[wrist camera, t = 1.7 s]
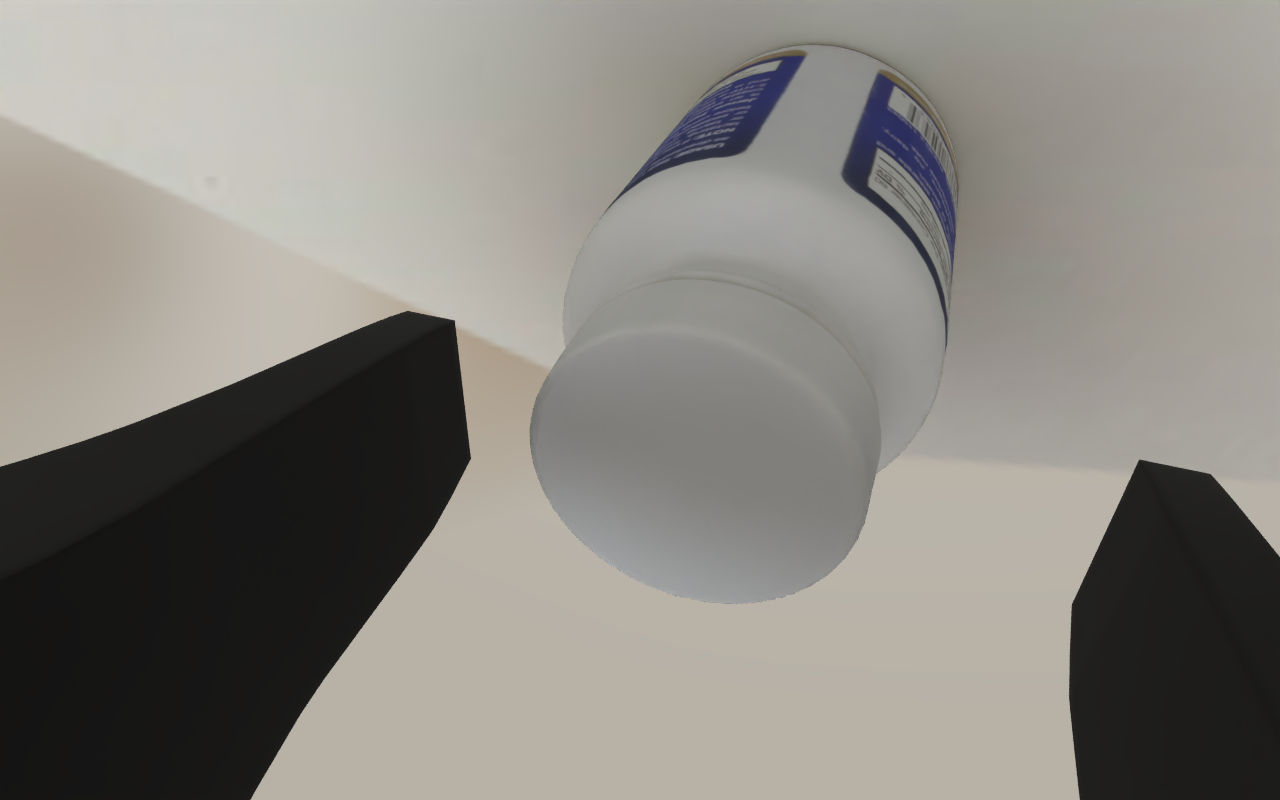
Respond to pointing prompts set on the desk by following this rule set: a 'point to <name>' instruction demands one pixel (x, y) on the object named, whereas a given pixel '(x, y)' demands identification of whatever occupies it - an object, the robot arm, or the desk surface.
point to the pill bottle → (755, 330)
